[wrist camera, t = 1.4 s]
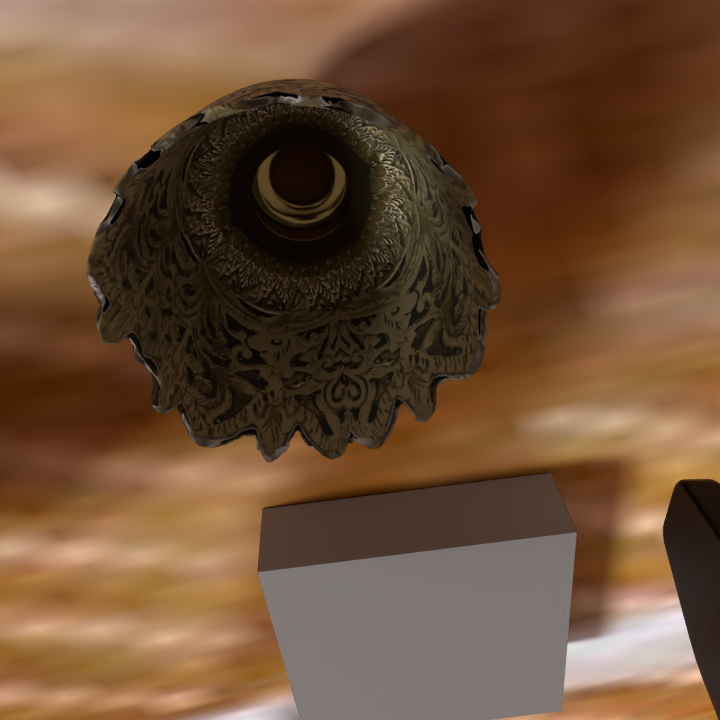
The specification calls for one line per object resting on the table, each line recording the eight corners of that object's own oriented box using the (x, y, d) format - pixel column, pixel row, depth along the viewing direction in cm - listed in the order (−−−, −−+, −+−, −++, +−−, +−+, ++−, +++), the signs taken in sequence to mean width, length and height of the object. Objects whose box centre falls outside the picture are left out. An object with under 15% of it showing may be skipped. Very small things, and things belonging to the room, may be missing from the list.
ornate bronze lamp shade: (115, 87, 18) (-4, 191, 11) (387, -18, 17) (438, 26, 10) (235, 323, 22) (201, 505, 15) (460, 248, 21) (532, 406, 14)
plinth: (307, 677, 32) (306, 742, 30) (262, 508, 26) (257, 572, 24) (541, 648, 32) (561, 710, 29) (550, 472, 26) (576, 532, 23)
